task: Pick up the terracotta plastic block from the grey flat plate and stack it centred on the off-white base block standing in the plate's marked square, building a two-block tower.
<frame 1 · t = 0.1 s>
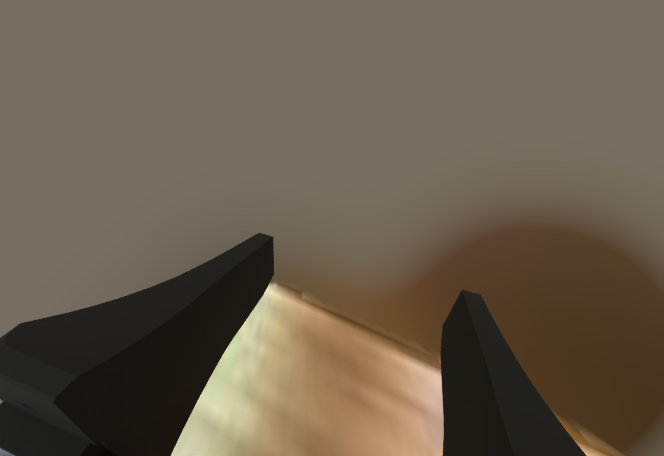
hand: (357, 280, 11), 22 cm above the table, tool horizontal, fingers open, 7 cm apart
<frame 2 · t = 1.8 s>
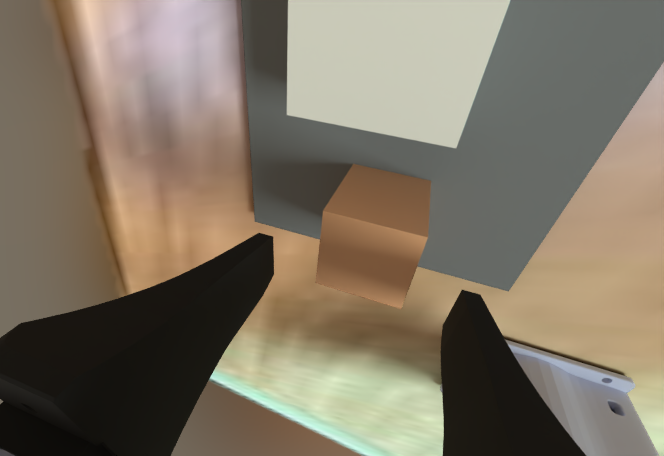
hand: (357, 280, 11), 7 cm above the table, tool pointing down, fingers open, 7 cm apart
terracotta block: (383, 205, 16), point 1 cm above the table, touching grey flat plate
grey flat plate: (402, 128, 14), on the table
base block: (400, 27, 11), point 1 cm above the table, touching grey flat plate
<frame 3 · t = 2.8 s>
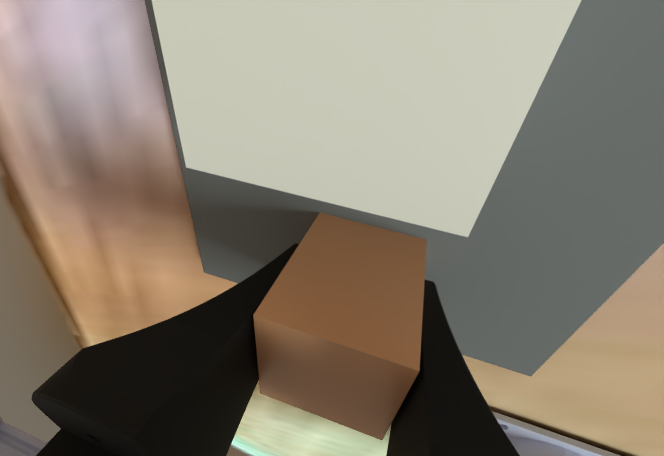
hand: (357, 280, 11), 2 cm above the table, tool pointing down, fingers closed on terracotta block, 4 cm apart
terracotta block: (362, 265, 12), point 1 cm above the table, touching grey flat plate, gripper
grey flat plate: (386, 166, 10), on the table
base block: (376, 22, 7), point 1 cm above the table, touching grey flat plate
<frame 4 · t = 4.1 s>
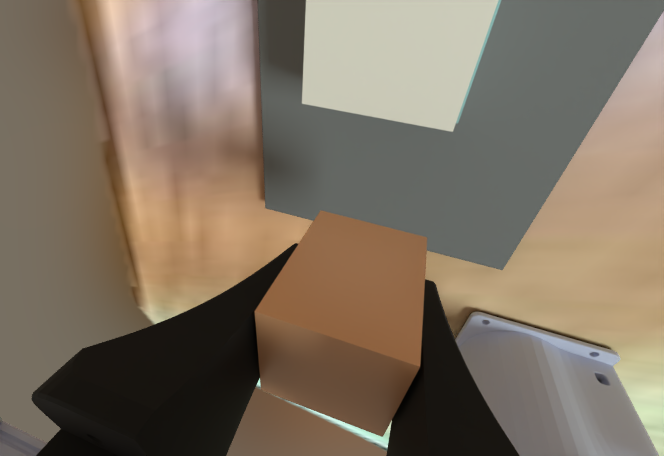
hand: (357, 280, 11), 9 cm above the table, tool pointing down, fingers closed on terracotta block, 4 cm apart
terracotta block: (363, 263, 12), point 8 cm above the table, touching gripper
grey flat plate: (404, 118, 16), on the table
base block: (402, 24, 13), point 1 cm above the table, touching grey flat plate
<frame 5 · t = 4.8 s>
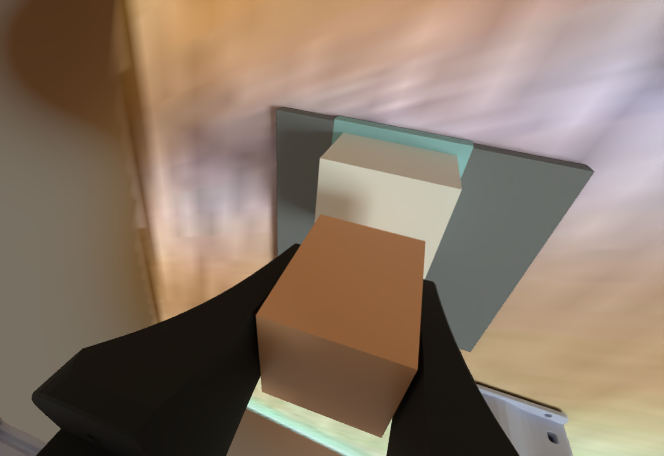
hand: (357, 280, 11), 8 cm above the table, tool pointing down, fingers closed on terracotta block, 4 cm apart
terracotta block: (362, 266, 12), point 7 cm above the table, touching gripper
grey flat plate: (389, 242, 20), on the table
base block: (386, 193, 17), point 1 cm above the table, touching grey flat plate
when the fingers open (7 cm above the table, at t = 5.4 s): terracotta block stays where it is, resting on base block.
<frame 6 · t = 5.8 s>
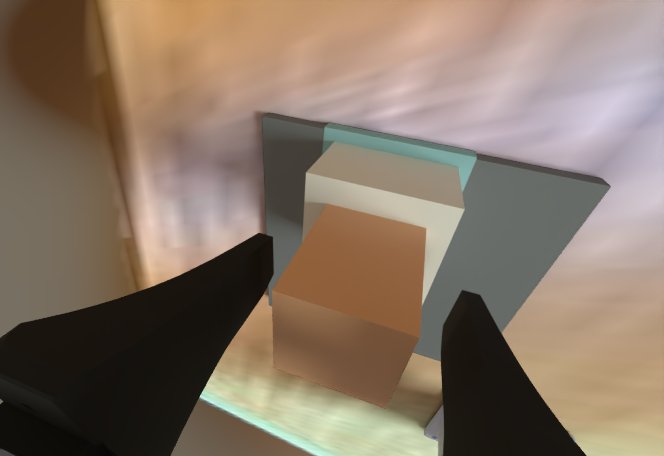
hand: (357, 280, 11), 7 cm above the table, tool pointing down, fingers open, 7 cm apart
terracotta block: (366, 253, 13), point 5 cm above the table, touching base block
grey flat plate: (386, 257, 19), on the table
base block: (381, 206, 16), point 1 cm above the table, touching grey flat plate, terracotta block
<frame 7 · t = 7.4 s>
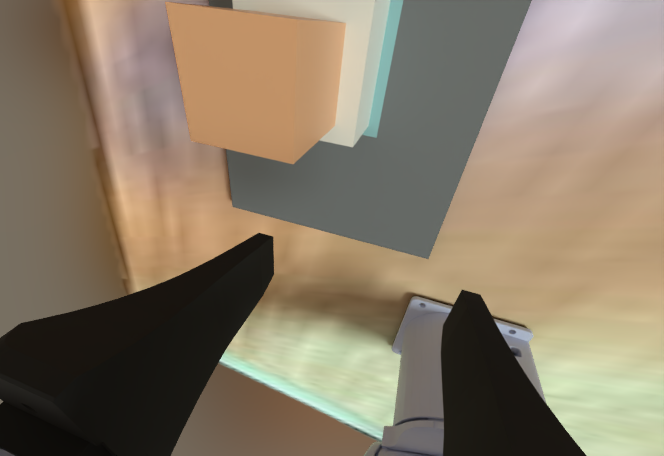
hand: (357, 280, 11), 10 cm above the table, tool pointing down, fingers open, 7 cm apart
terracotta block: (297, 71, 13), point 5 cm above the table, touching base block
grey flat plate: (338, 132, 19), on the table
base block: (325, 60, 16), point 1 cm above the table, touching grey flat plate, terracotta block
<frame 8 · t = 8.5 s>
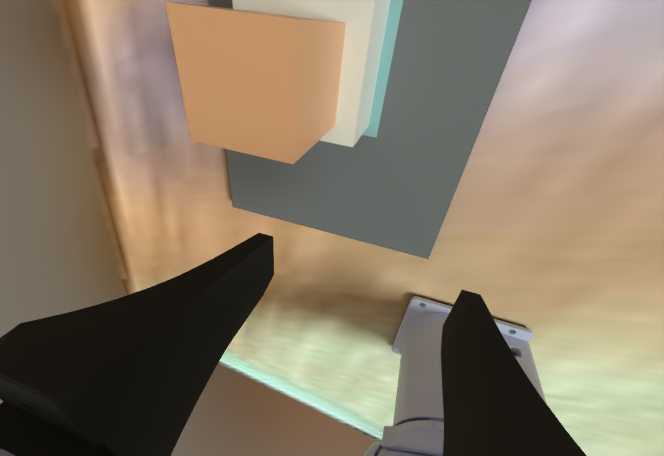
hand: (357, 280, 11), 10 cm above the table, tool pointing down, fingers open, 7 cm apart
terracotta block: (297, 71, 13), point 5 cm above the table, touching base block
grey flat plate: (338, 132, 19), on the table
base block: (325, 60, 16), point 1 cm above the table, touching grey flat plate, terracotta block
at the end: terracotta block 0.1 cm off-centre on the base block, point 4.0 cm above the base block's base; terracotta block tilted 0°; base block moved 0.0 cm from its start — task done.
